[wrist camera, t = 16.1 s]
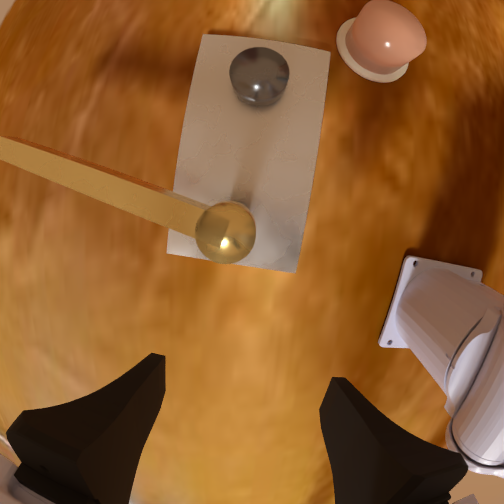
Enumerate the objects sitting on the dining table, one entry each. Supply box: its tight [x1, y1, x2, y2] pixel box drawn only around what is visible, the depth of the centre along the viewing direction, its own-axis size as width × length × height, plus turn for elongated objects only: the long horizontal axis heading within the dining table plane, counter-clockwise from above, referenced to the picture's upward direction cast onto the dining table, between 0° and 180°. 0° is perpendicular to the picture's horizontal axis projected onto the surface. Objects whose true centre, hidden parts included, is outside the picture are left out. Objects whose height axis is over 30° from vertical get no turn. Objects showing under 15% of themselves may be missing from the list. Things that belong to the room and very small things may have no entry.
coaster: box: [336, 17, 409, 83], centre depth 17 cm, size 6×6×1 cm
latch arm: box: [0, 136, 256, 264], centre depth 12 cm, size 15×2×2 cm, turn 68°
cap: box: [345, 0, 426, 75], centre depth 14 cm, size 5×5×4 cm
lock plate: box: [167, 34, 331, 273], centre depth 16 cm, size 9×16×7 cm, turn 171°
